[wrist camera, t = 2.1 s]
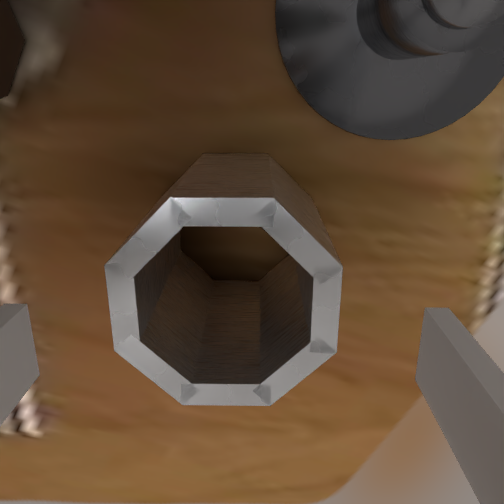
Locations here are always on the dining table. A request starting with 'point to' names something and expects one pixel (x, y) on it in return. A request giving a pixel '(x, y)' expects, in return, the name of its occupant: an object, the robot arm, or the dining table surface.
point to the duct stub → (392, 60)
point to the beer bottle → (8, 47)
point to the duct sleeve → (226, 289)
